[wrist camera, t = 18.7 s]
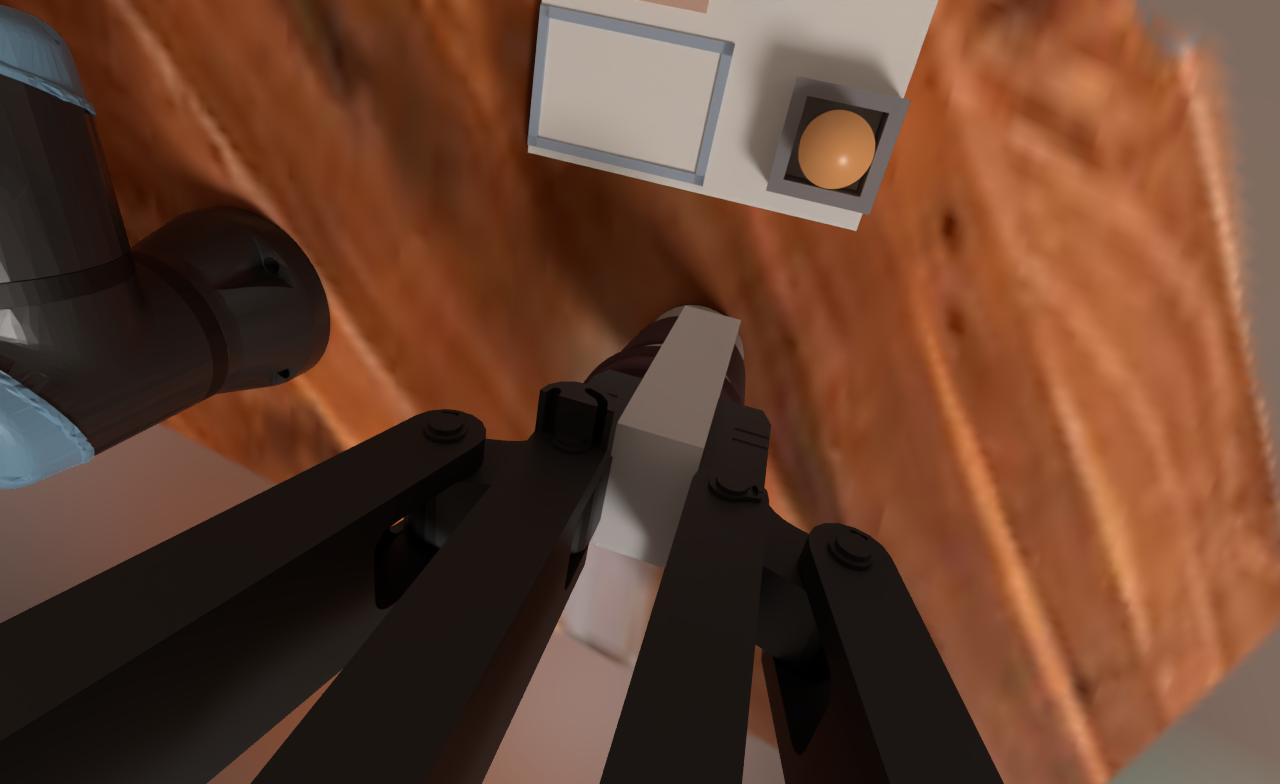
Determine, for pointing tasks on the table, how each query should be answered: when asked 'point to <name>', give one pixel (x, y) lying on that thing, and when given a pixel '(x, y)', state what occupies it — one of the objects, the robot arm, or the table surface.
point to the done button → (836, 148)
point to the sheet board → (723, 92)
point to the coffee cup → (648, 344)
